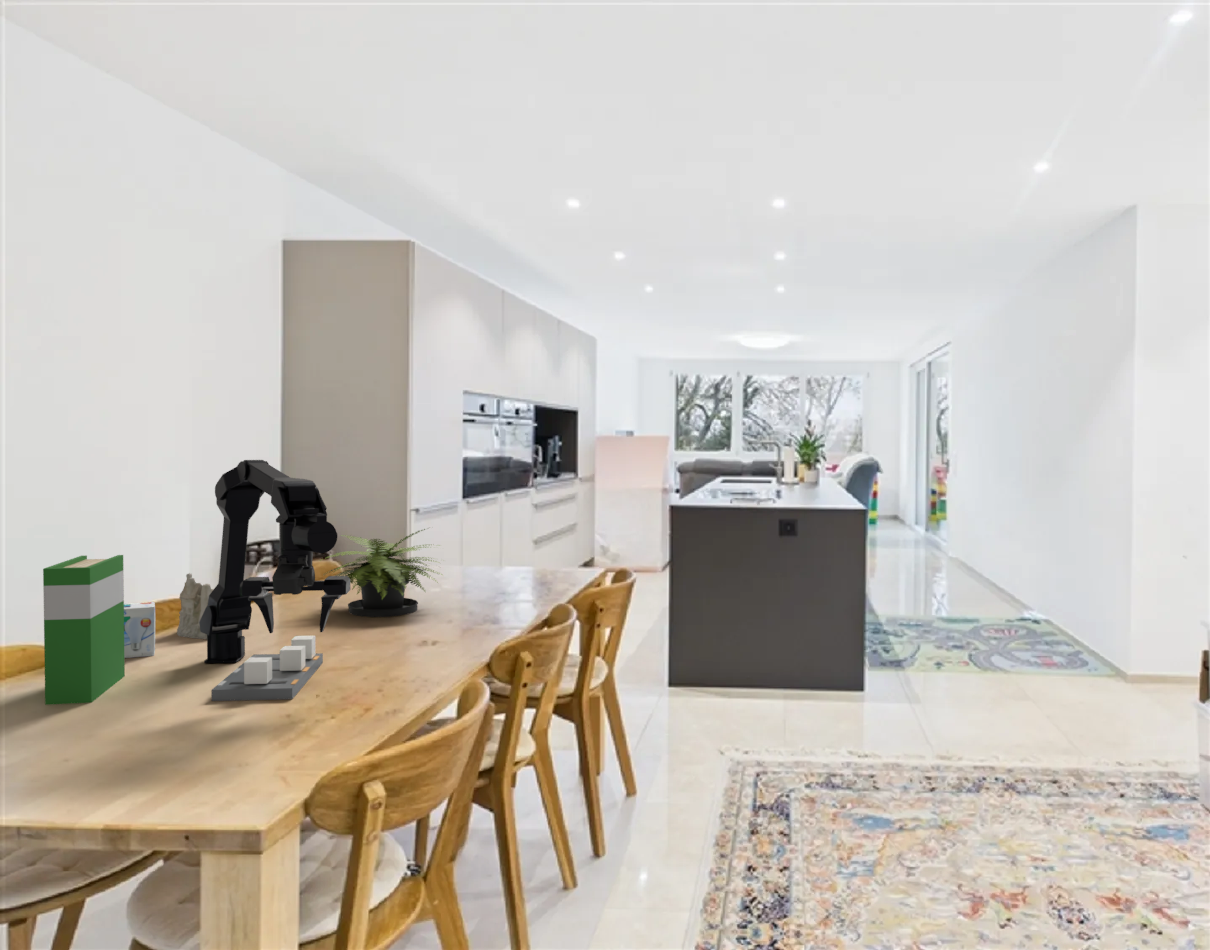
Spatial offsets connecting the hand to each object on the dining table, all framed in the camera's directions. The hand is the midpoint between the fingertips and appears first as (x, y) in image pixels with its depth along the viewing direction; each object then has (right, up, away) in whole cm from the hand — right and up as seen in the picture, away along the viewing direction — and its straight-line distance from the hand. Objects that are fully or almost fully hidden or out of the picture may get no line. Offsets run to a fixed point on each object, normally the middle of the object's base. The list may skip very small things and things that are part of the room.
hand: (296, 632), depth 162 cm
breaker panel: (-8, -11, +8) cm, 16 cm away
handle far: (-5, -8, +18) cm, 20 cm away
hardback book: (-39, -11, +1) cm, 41 cm away
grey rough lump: (-38, -9, +51) cm, 65 cm away
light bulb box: (-46, -10, +27) cm, 54 cm away
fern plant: (-4, -8, +80) cm, 80 cm away
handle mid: (-4, -9, +9) cm, 13 cm away
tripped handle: (-7, -9, -1) cm, 11 cm away
